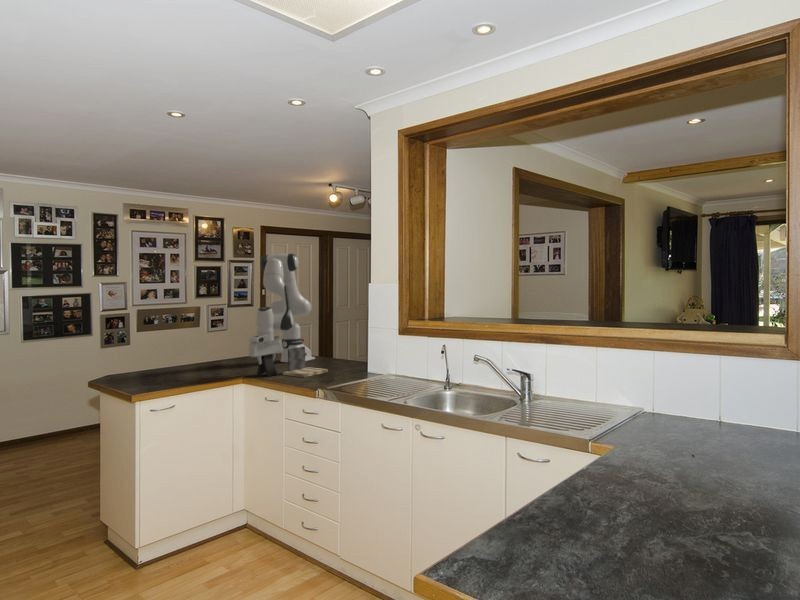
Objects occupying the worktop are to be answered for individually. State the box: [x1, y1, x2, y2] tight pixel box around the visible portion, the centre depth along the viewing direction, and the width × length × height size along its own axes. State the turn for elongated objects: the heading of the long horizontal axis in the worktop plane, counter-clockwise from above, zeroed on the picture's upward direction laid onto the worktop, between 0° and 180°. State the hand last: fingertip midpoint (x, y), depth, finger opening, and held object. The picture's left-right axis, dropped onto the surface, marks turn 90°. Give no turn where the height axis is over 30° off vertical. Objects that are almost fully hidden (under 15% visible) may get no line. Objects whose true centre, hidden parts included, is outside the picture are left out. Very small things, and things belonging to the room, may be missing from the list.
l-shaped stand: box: [282, 347, 329, 378], centre depth 288 cm, size 18×16×14 cm
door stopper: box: [256, 354, 278, 377], centre depth 286 cm, size 9×6×12 cm, turn 58°
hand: (266, 363), depth 286 cm, fingers closed on door stopper, 6 cm apart
